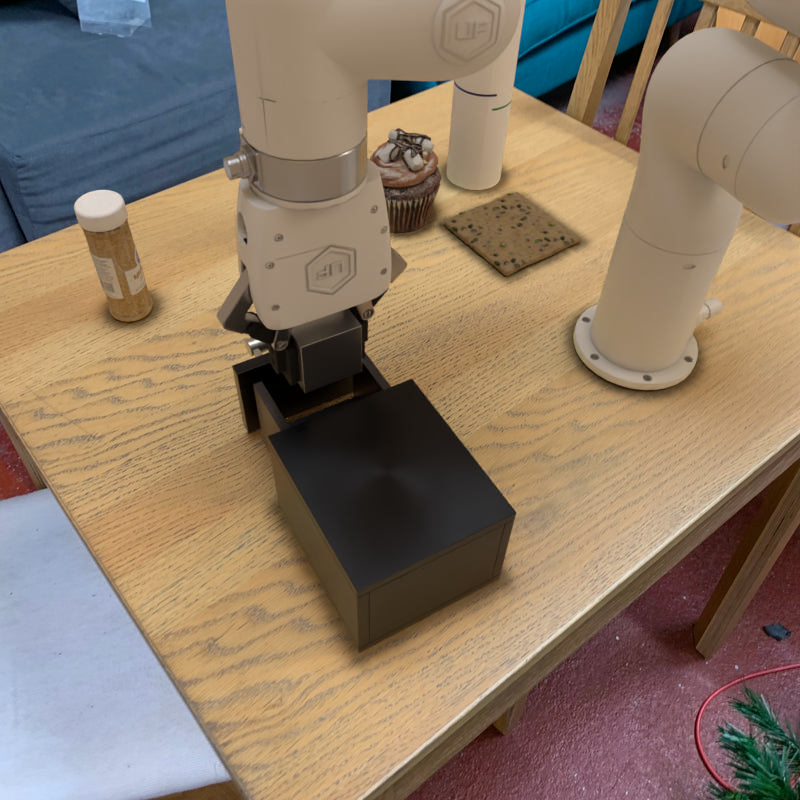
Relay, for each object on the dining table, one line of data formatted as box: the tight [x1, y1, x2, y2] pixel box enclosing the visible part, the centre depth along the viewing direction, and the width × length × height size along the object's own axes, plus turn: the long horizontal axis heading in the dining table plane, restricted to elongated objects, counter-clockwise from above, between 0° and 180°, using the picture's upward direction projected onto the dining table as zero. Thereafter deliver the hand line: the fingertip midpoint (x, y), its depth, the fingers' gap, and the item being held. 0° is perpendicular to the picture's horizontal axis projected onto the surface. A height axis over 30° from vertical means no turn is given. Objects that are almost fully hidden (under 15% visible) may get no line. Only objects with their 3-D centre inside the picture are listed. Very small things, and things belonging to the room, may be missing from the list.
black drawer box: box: [268, 378, 517, 654], centre depth 60 cm, size 15×13×10 cm
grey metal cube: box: [290, 309, 362, 393], centre depth 59 cm, size 5×5×5 cm
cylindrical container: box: [446, 0, 527, 191], centre depth 91 cm, size 7×7×25 cm
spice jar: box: [73, 189, 154, 323], centre depth 77 cm, size 5×5×14 cm
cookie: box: [443, 191, 582, 277], centre depth 92 cm, size 12×12×1 cm
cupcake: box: [368, 127, 442, 233], centre depth 91 cm, size 10×10×10 cm
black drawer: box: [231, 337, 392, 452], centre depth 67 cm, size 19×12×8 cm, turn 30°
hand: (320, 359), depth 61 cm, fingers closed on grey metal cube, 5 cm apart
